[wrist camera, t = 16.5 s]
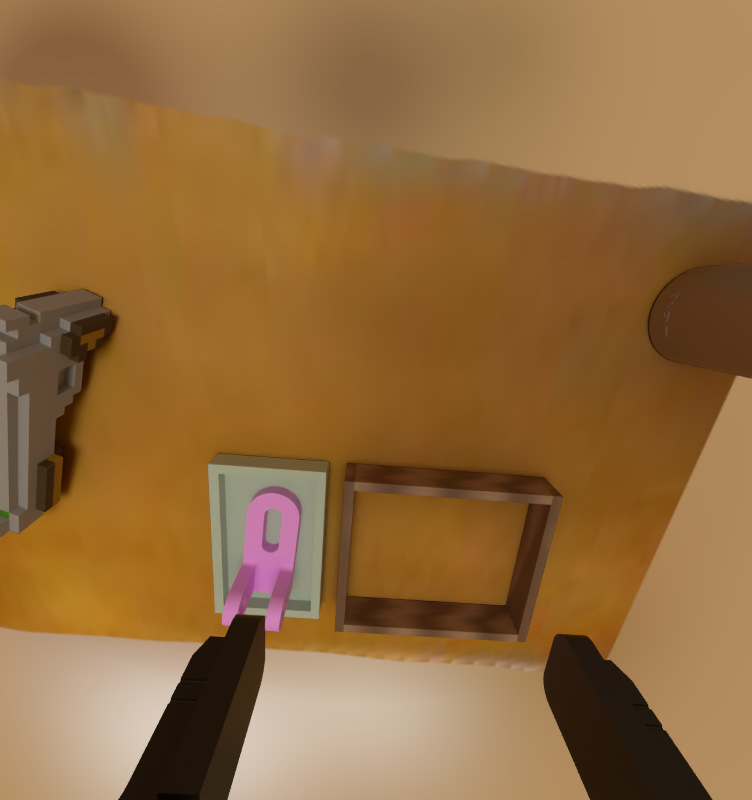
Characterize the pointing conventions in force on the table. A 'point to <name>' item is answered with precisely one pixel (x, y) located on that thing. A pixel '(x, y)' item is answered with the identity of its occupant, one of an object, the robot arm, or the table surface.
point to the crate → (446, 615)
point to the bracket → (267, 557)
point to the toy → (40, 393)
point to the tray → (268, 525)
